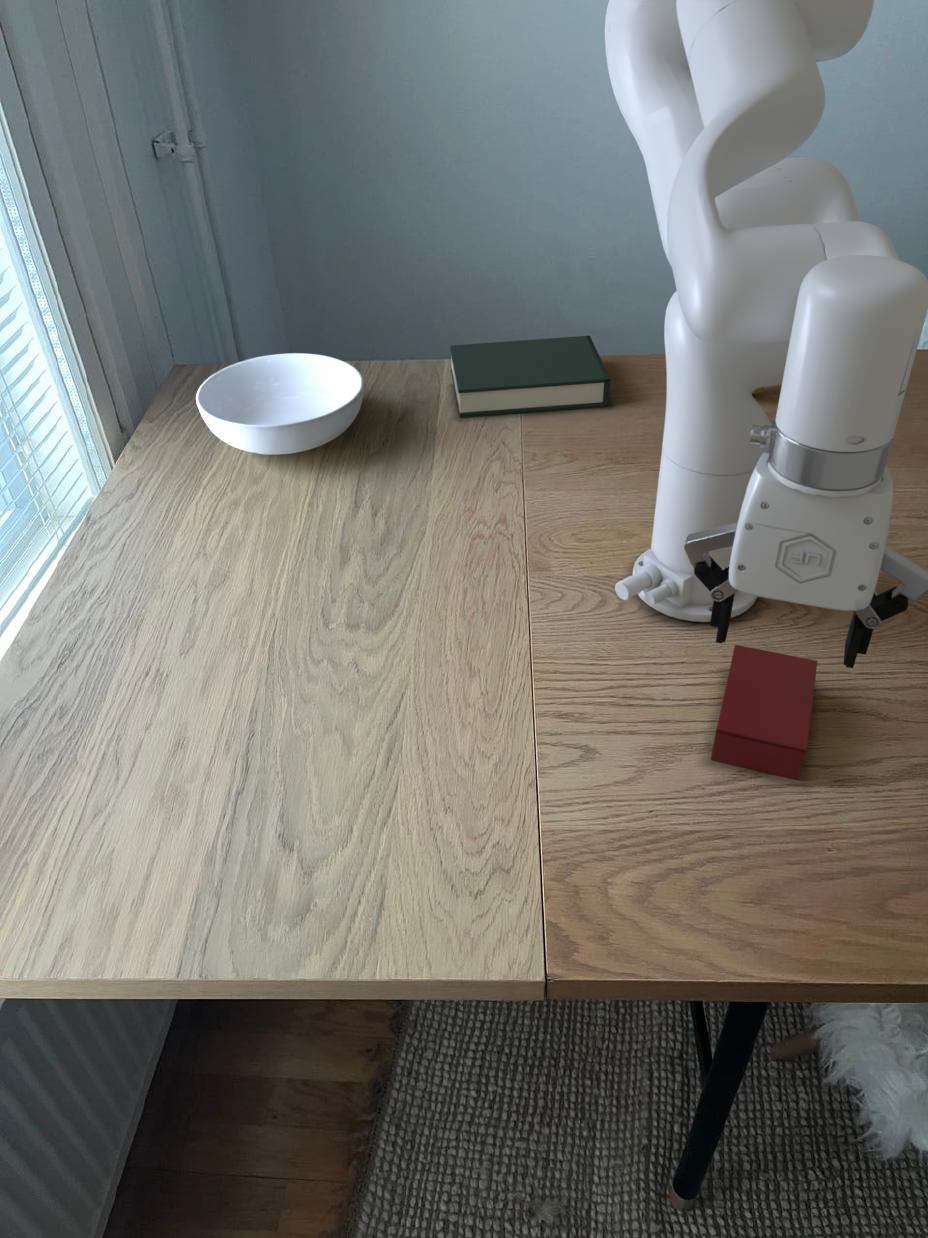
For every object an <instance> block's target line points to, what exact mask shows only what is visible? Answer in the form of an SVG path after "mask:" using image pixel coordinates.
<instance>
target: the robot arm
mask: <svg viewBox="0 0 928 1238" xmlns="http://www.w3.org/2000/svg"><path fill="white" fill-rule="evenodd" d="M874 4H875V0H608V3H607V7H606V11H605V18H604V45H605V47H604V48H605V57H606V65H607V73H608V77H609V81H610V84H611V88H612V92H613V95H614V98H615V101H616V104H617V106H618V108H619V111H620V113H621V115H622V117H623V119H624V121H625V124H626V125H627V128H628V129H629V131H630V133H631V134H632V136H633V138H634V140H635V142H636V144H637V146H638V148H639V150H640V152H641V155H642V158H643V161H644V164H645V169H646V175H647V180H648V184H649V189H650V193H651V198H652V203H653V208H654V212H655V219H656V223H657V227H658V232H659V236H660V239H661V245H662V248H663V251H664V254H665V257H666V260H667V261H668V263H669V265H670V268H671V270H672V275H673V279H674V284H675V291H674V292H673V294H672V296H671V297H670V299H669V301H668V303H667V306H666V308H665V309H666V310H665V314H664V325H663V326H664V329H663V330H664V331H663V332H664V335H663V336H664V351H665V352H664V353H665V354H664V355H665V368H666V396H665V397H666V399H665V413H664V414H665V415H664V424H663V425H664V426H663V434H662V445H661V455H660V465H659V473H658V483H657V490H656V499H655V509H654V517H653V525H652V526H653V527H652V534H651V535H652V536H651V545H650V548H648V549H646V550H645V551H644V552H643V553H641V554H640V555H639V557H638V558H637V559H636V560H635V562H634V565H633V568H632V574H631V575H629V576H627V577H625V578H623V579H622V580H620V581H618V582H616V584H614V585H615V586H614V589H615V594H616V595H617V596H618V598H619V599H621V600H622V601H628V600H629V599H631V598H634V597H635V596H638V597H639V598H640V599H641V600H642V601H643V602H644V603H645V604H647V606H648V607H651V608H652V609H654V610H655V611H657V612H658V613H661V614H663V615H665V616H668V617H670V618H674V619H678V620H680V621H681V620H682V621H686V622H687V621H688V622H695V623H709V626H710V627H713V628H714V627H715V628H717V632H716V638H715V643H717V644H723V643H726V640H727V636H728V631H729V627H730V623H731V619H732V618H735V617H737V616H740V615H742V614H743V613H745V612H747V611H748V610H750V608H751V607H752V606H754V605H755V603H756V601H757V599H758V597H759V598H764V599H769V600H775V601H781V602H786V603H791V604H799V605H804V606H810V607H814V608H815V607H816V608H821V609H826V610H827V609H828V610H832V611H833V610H834V611H841V612H853V613H852V617H851V620H850V623H849V627H848V631H847V635H846V638H845V642H844V650H843V651H844V653H843V664H842V665H843V666H845V668H848V669H854V668H855V664H856V660H857V656H858V654H860V655H864V656H865V655H867V653H868V649H869V646H870V642H871V640H872V635H873V632H874V630H875V629H878V628H879V627H880V626H881V624H882V622H883V621H887V620H888V619H890V618H893V617H894V616H897V615H899V614H901V613H903V612H905V611H907V610H908V608H909V606H910V604H912V603H914V602H916V600H918V599H919V598H920V597H921V596H922V595H923V594H925V593H926V592H927V591H928V570H926V569H925V568H923V567H921V566H919V565H918V564H917V563H915V562H913V561H912V560H910V559H909V558H907V557H905V556H904V555H902V554H900V553H899V552H897V551H896V550H895V549H893V548H891V547H890V546H888V545H887V542H888V541H887V540H888V536H889V531H890V524H891V519H892V511H893V501H894V481H893V475H892V472H891V470H890V469H889V468H888V467H887V462H888V460H889V459H888V458H889V456H890V455H889V454H890V451H891V447H892V444H893V440H894V435H895V432H896V428H897V424H898V422H899V421H898V420H899V417H900V413H901V410H902V405H903V402H904V399H905V396H906V392H907V391H906V390H907V387H908V384H909V380H910V376H911V373H912V369H913V365H914V361H915V358H916V356H917V355H916V354H917V351H918V347H919V343H920V341H921V340H920V339H921V336H922V332H923V329H924V325H925V321H926V318H927V314H928V279H927V277H926V275H925V274H924V273H923V272H922V271H921V270H920V269H919V268H918V267H916V266H914V265H912V264H910V263H908V262H906V261H902V260H901V259H900V256H899V255H898V252H897V250H896V248H895V246H894V243H893V242H892V241H891V239H890V237H889V236H888V235H887V234H886V232H885V231H884V230H883V229H882V228H880V227H879V226H877V225H875V224H873V223H870V222H865V221H861V218H860V215H859V212H858V208H857V204H856V202H855V201H856V200H855V198H854V196H853V193H852V190H851V187H850V185H849V182H848V180H847V179H846V177H845V175H844V174H843V173H842V172H841V170H839V168H838V167H836V166H835V165H834V164H832V163H831V162H829V161H827V160H825V159H821V158H817V157H789V156H791V155H792V154H793V153H795V152H796V151H797V150H798V149H799V148H800V147H801V146H803V145H804V144H805V142H806V141H807V140H808V139H809V138H810V137H811V136H812V135H813V133H814V132H815V130H816V129H817V127H818V125H819V123H820V122H821V120H822V117H823V114H824V111H825V106H826V91H825V84H824V82H823V79H822V76H821V73H820V70H819V67H818V63H819V62H826V61H830V60H835V59H839V58H840V57H843V56H845V55H846V54H848V53H849V52H850V51H851V50H853V49H854V48H855V47H856V45H858V43H859V42H860V41H861V39H862V38H863V35H864V34H865V32H866V30H867V28H868V25H869V23H870V20H871V17H872V13H873V10H874ZM780 385H781V388H780V392H779V398H778V404H777V408H776V415H775V419H774V420H769V417H768V415H767V414H766V412H765V410H764V409H763V408H762V406H761V405H760V404H759V402H758V401H757V400H756V398H755V397H754V396H753V394H752V392H753V391H754V390H756V389H758V388H761V387H765V388H768V387H775V386H780ZM881 571H882V572H884V573H885V574H887V575H888V576H890V577H891V578H893V579H894V580H896V581H898V582H899V585H897V586H894V587H891V588H890V589H888V590H886V591H884V592H881V593H878V592H877V590H876V587H877V585H878V580H879V576H880V572H881Z"/></svg>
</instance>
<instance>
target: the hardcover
mask: <svg viewBox="0 0 928 1238" xmlns="http://www.w3.org/2000/svg"><path fill="white" fill-rule="evenodd" d="M449 349H450V357H451V358H450V359H451V369H450V373H451V378H452V384H453V389H454V390H453V391H454V394H455V395H454V396H455V400H456V406H457V412H458V417H459V418H460V419H461V418H471V417H472V418H473V417H484V416H485V417H486V416H500V415H511V414H512V415H513V414H525V413H527V414H528V413H538V412H539V413H540V412H555V411H565V410H579V409H592V408H593V409H594V408H605V407H609V404H610V389H611V377H610V374H609V373H608V371H607V368H606V367H605V365H604V363H603V361H602V358H601V357H600V354H599V352H598V349H597V348H596V345H595V343H594V341H593V339H592V338H591V335H578V336H566V337H565V336H564V337H551V338H550V337H549V338H537V339H524V340H523V339H521V340H510V341H494V342H481V343H480V342H479V343H468V344H467V343H466V344H456V345H455V344H452V345H451V344H450V345H449Z"/></svg>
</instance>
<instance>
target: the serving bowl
mask: <svg viewBox="0 0 928 1238" xmlns="http://www.w3.org/2000/svg"><path fill="white" fill-rule="evenodd" d="M364 384H365V382H364V378H363V376H362V374H361V372H360V371H359V370H358V369H357V368H356V367H354V366H353V365H352V364H350V363H348V362H346V361H344V360H341V359H339V358H336V357H332V356H328V355H323V354H317V353H307V352H306V353H303V352H302V353H301V352H292V353H289V352H288V353H276V354H267V355H262V356H261V355H260V356H257V357H252V358H248V359H245V360H242V361H238V362H236V363H233V364H231V365H228V366H225V367H223V368H222V369H220V370H218V371H216V372H215V373H213V374H212V375H209V377H208V378H207V379H205V380H204V381H203V383H202V384H201V385H200V386H199V388H198V390H197V392H196V396H195V401H196V405H197V408H198V410H199V413H200V415H201V417H202V419H203V421H204V423H205V424H206V426H207V427H208V429H210V432H212V433H213V434H214V435H215V436H216V437H217V438H218V439H220V441H223V442H224V443H225V444H227V445H229V446H231V447H234V448H235V449H238V450H241V451H245V452H248V453H254V454H259V455H260V454H261V455H275V456H277V455H289V454H297V453H302V452H306V451H309V450H312V449H316V448H318V447H321V446H324V445H325V444H327V443H329V442H332V441H333V440H334V439H336V438H337V437H339V436H340V435H342V434H343V433H344V432H345V431H347V430H348V429H349V427H350V426H351V425H352V423H353V422H354V421H355V419H356V418H357V416H358V414H359V413H360V409H361V407H362V403H363V399H364V397H363V396H364V389H365V388H364V386H365V385H364Z"/></svg>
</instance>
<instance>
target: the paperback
mask: <svg viewBox="0 0 928 1238" xmlns="http://www.w3.org/2000/svg"><path fill="white" fill-rule="evenodd" d="M733 647H734V648H733V653H732V656H731V662H730V666H729V671H728V675H727V680H726V683H725V689H724V694H723V699H722V703H721V706H720V707H721V708H720V711H719V716H718V721H717V725H716V730H715V735H714V739H713V744H712V751H711V756H710V760H711V761H716V762H718V763H724V764H727V765H733V766H736V767H741V768H744V769H745V768H746V769H749V770H753V771H758V772H762V773H767V774H770V775H774V776H779V777H784V778H788V779H793V780H797V781H799V780H800V776H801V774H802V773H801V772H802V769H803V766H804V762H805V759H806V755H807V752H808V744H809V737H810V736H809V735H810V727H811V720H812V719H811V718H812V709H813V702H814V695H815V687H816V686H815V685H816V684H815V683H816V675H817V668H818V660H815V659H810V658H805V657H800V656H795V655H790V654H784V653H780V652H774V651H769V650H764V649H761V648H760V649H759V648H754V647H749V646H744V645H740V644H734V646H733Z"/></svg>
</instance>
